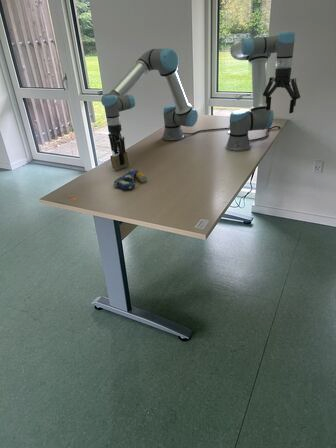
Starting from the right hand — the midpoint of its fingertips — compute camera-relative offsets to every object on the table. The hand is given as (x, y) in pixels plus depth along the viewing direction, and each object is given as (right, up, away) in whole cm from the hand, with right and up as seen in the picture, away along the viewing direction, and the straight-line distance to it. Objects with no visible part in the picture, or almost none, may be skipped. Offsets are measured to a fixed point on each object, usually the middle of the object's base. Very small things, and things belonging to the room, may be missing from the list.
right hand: (279, 111), depth 176 cm
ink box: (-87, -25, +26) cm, 95 cm away
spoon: (-7, +16, +83) cm, 85 cm away
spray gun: (-79, -37, +8) cm, 87 cm away
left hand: (-88, -23, +25) cm, 94 cm away
